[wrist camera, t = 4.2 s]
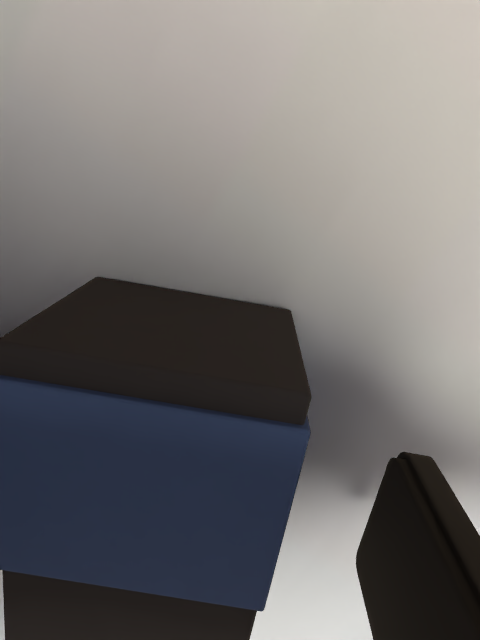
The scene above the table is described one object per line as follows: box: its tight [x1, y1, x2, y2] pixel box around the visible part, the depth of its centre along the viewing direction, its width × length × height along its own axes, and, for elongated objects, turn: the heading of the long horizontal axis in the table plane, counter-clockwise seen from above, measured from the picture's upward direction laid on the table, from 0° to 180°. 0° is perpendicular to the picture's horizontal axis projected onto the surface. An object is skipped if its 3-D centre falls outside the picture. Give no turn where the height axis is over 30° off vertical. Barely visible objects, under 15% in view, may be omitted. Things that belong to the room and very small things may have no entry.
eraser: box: [0, 277, 311, 640], centre depth 9 cm, size 5×7×4 cm, turn 171°
